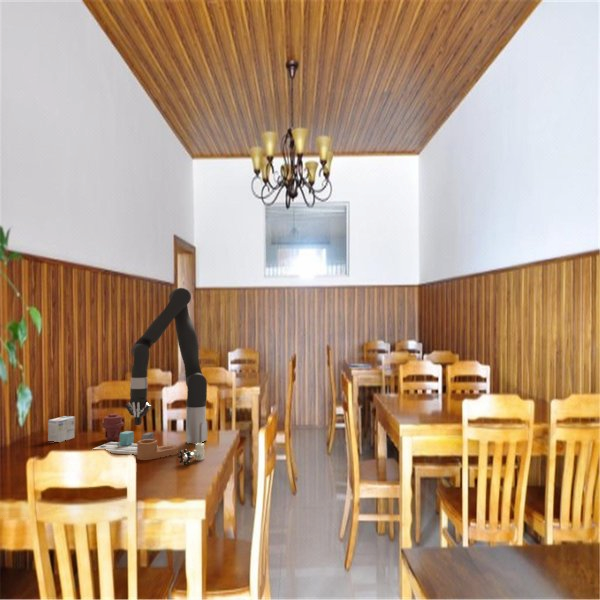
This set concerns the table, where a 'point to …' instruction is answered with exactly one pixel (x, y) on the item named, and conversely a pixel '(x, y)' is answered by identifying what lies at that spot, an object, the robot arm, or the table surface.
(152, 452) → the bracket
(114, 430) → the mechanical component
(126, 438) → the sliding leg
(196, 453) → the valve
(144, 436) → the fixed leg
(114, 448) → the gauge board
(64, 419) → the light bulb box
